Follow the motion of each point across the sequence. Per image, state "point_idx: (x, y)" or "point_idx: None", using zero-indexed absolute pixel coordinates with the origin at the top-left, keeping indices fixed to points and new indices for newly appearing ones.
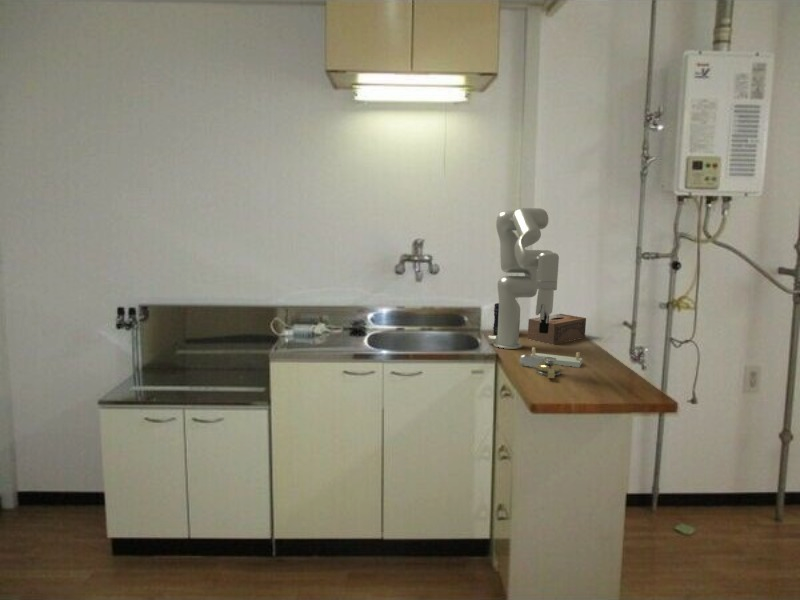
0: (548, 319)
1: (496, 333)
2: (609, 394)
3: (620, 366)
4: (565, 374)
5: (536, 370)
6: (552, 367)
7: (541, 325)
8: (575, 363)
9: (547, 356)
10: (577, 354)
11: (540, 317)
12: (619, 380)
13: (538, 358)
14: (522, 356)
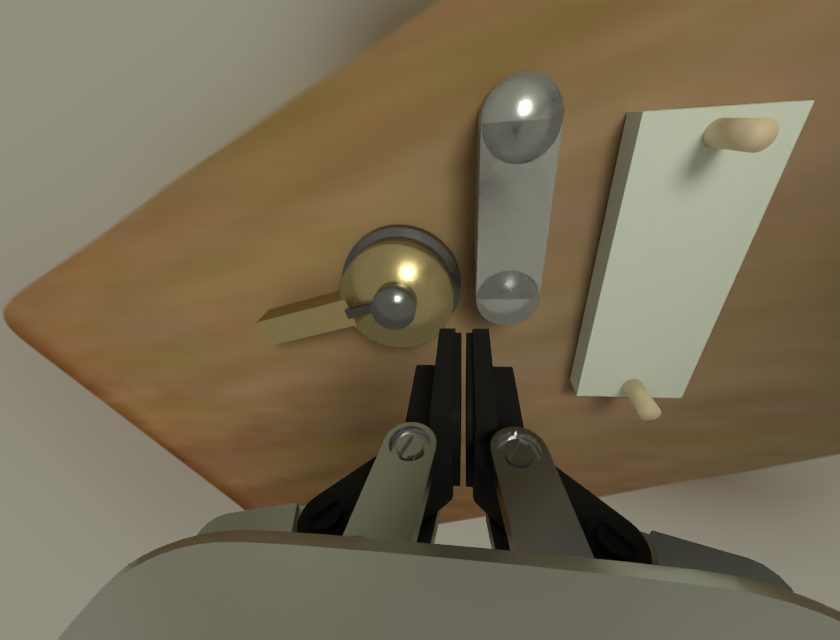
0: (497, 541)
1: None
2: (272, 464)
3: (643, 487)
4: (422, 346)
5: (375, 231)
6: (353, 324)
7: (410, 409)
8: (578, 377)
9: (685, 237)
10: (637, 405)
11: (353, 515)
12: None
13: (477, 231)
14: (485, 105)
